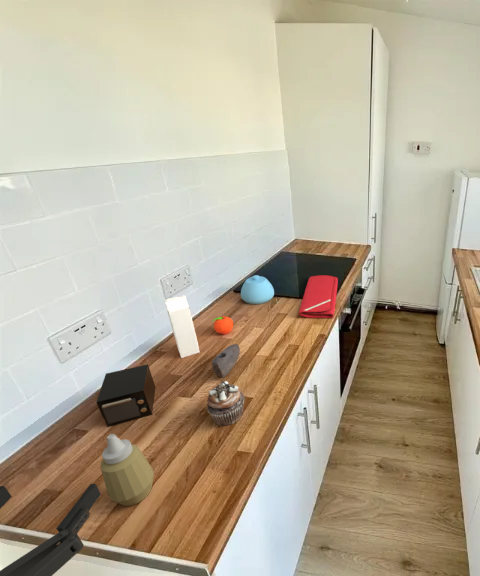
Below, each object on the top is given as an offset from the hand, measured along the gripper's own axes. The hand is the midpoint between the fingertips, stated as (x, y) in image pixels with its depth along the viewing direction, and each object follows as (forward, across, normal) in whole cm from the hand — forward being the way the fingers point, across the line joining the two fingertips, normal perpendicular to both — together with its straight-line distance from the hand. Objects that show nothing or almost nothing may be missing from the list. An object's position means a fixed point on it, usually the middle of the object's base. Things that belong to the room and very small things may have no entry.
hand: (51, 490), depth 52 cm
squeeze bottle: (+12, 0, -20) cm, 24 cm away
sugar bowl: (+106, 0, -20) cm, 108 cm away
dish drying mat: (+108, +30, -20) cm, 114 cm away
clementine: (+76, -5, -20) cm, 79 cm away
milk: (+64, -12, -20) cm, 68 cm away
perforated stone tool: (+55, +5, -20) cm, 59 cm away
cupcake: (+34, +12, -20) cm, 42 cm away
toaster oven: (+38, -16, -20) cm, 46 cm away
